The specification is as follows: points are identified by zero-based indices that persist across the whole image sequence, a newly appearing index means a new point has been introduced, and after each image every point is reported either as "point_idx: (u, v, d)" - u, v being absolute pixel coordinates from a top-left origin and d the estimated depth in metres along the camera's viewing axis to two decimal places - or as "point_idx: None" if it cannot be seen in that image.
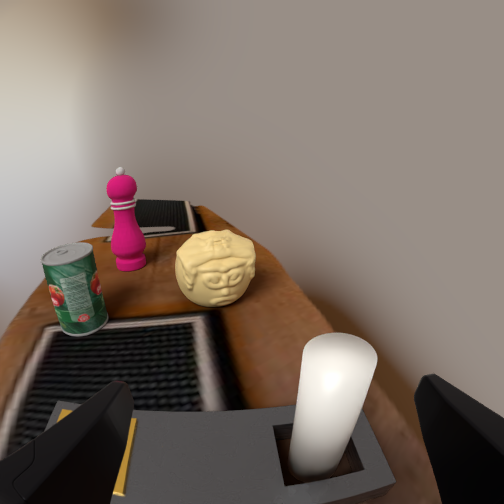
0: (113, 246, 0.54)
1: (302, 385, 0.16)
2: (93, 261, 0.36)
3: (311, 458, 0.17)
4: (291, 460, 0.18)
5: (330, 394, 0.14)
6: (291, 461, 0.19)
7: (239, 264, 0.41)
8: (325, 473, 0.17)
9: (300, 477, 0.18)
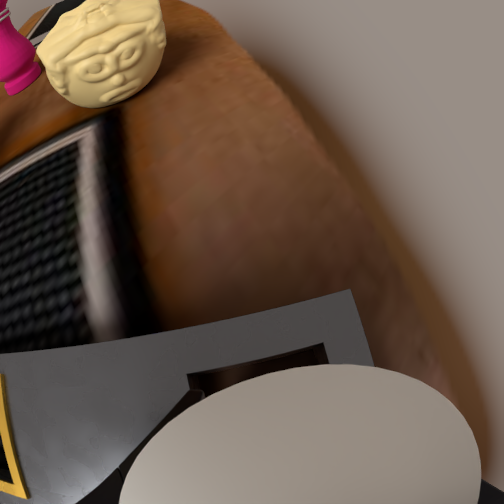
0: None
1: None
2: None
3: None
4: None
5: None
6: None
7: (131, 33, 0.17)
8: None
9: None
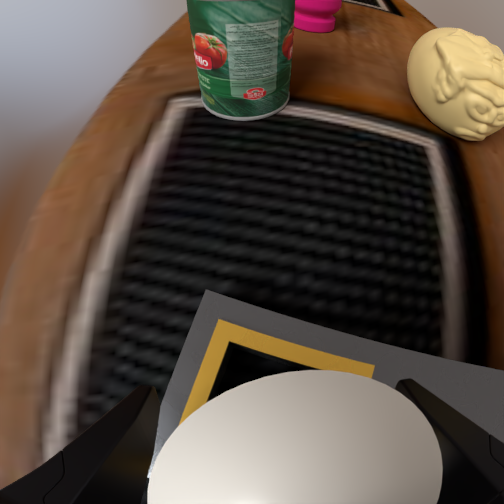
0: None
1: None
2: (294, 6, 0.16)
3: None
4: None
5: None
6: None
7: None
8: None
9: None
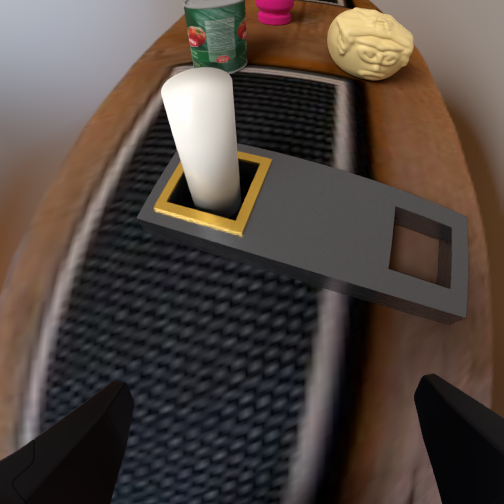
0: (258, 0, 0.40)
1: None
2: (244, 8, 0.28)
3: (200, 190, 0.22)
4: (192, 197, 0.25)
5: (184, 119, 0.16)
6: (192, 198, 0.25)
7: (396, 49, 0.28)
8: (224, 209, 0.25)
9: None
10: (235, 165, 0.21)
